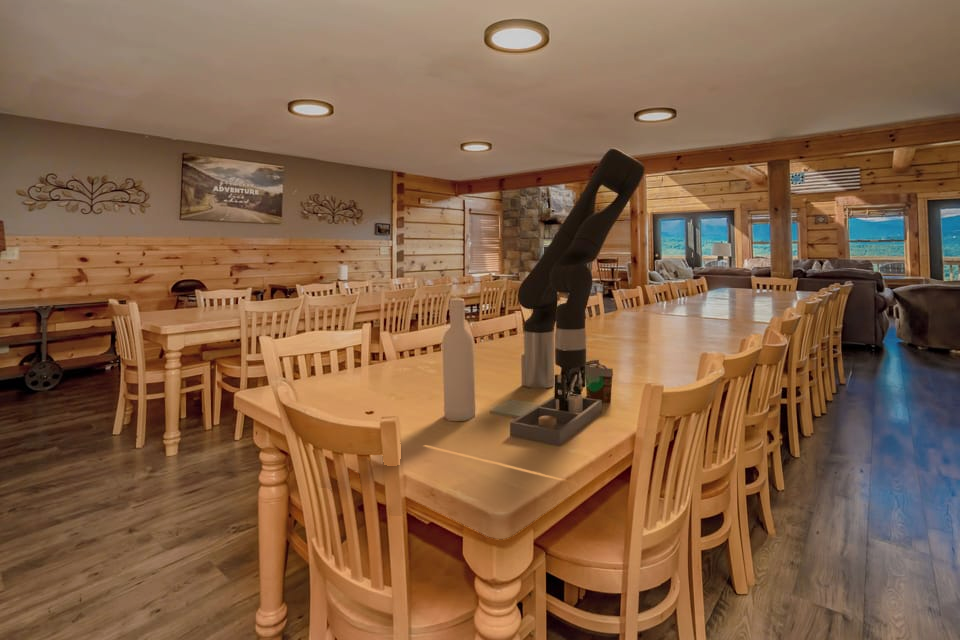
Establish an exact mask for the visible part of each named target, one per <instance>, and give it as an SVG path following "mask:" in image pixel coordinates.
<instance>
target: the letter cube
mask: <svg viewBox="0 0 960 640" xmlns="http://www.w3.org/2000/svg"><path fill="white" fill-rule="evenodd" d="M583 398H584V395H583V394H581V395H578V394H572V392H571V393H570V396H569V400H568V401H569V412H574V413H582V409H583ZM556 410H559V400H558V399H556Z"/></svg>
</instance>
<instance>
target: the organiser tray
mask: <svg viewBox="0 0 960 640" xmlns="http://www.w3.org/2000/svg"><path fill="white" fill-rule="evenodd" d="M602 403H603V402H602V400H597V399H590V398H587V397H583V409H582V413H574V412H568V411H562V410H556V399H555V398H554V396H552V397H550V398H549V399H547V400H546V401H544V402H541V403H539V404H540V405H538V406H537V407H535V408H533V409H532V410H530V411H528V412H526V413H525V414H523V415H521V416H520V417H518V418H515V419H513V420H511V421H509V436H510V437H514V438H519V439H524V440H527V441H533V442H538V443H543V444H547V445H551V446H552V445H553V446H556V447H561V446H562V445H563V444H565V443H566V442H567V441H568V440H569V439H571V438H572V437H573V436H574V435H576V434H577V433H578V432H580V431H581V430H582V429H583V428H584V427H585V426H587V425H588V424H589V423H591V422H592V421H593V420H594V419H595V418H597V416H599V415H600V414H601V413H603V412H602V410H603V409H602V408H603V404H602ZM541 416H553V417H555V418H556V430H555V429H549V428H544V427H539V417H541Z"/></svg>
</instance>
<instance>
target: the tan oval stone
mask: <svg viewBox="0 0 960 640" xmlns="http://www.w3.org/2000/svg"><path fill="white" fill-rule="evenodd" d="M539 427H544V428H549V429H555V430H556V418H555V417H553V416H541V417H539Z"/></svg>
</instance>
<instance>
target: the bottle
mask: <svg viewBox="0 0 960 640" xmlns="http://www.w3.org/2000/svg"><path fill="white" fill-rule="evenodd" d="M448 306H449V318H450V319H449V325H450V326H449V328H448V329H447V330H446V331H445V332H444V335H443V338H442V374H443V377H442V378H443V380H442V381H443V403H444V404H443V412H444V419H445V420H447V421H449V420H450V422H455V421H457V422H458V421H463V422H467V421H470V420H472V419H474V418H476V393H475V391H476V389H475V388H476V387H475V386H476V384H475V383H476V382H475V343H474V342H475V341H474V337H473V334H472V332H471V331H470V330H469V329H468V328H467V327H466V319H465V318H466V317H465V316H466V315H465V313H466V312H465V309H466V308H465V307H466V303H465V299H464V298H461V297H459V298H456V297H455V298H451V299H449V304H448Z"/></svg>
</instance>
